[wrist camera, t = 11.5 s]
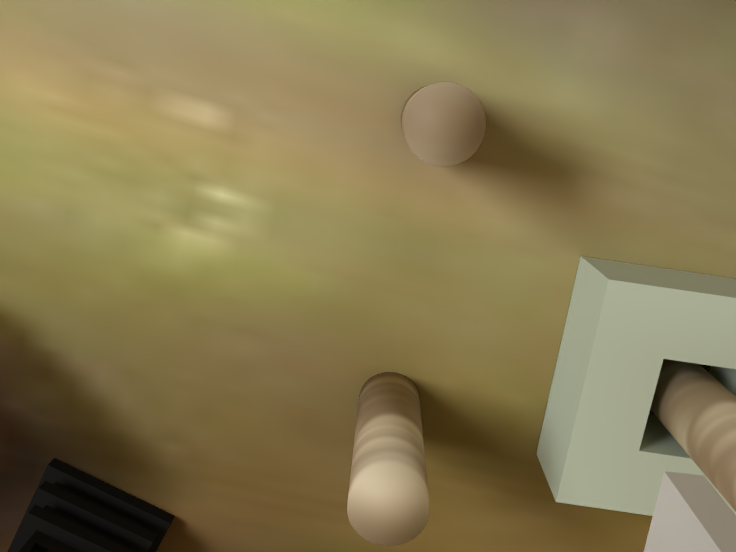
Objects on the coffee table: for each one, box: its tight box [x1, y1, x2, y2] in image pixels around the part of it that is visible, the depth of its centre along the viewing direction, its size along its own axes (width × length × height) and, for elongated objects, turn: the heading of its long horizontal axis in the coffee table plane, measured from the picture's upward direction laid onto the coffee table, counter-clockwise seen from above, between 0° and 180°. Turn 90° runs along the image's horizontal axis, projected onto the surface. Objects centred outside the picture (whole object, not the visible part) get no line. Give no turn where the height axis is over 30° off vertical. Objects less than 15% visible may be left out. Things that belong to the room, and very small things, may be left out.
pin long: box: [650, 359, 736, 512], centre depth 31 cm, size 4×4×16 cm
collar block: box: [536, 256, 736, 516], centre depth 37 cm, size 12×12×5 cm
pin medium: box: [347, 372, 430, 546], centre depth 35 cm, size 4×4×11 cm
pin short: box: [401, 82, 486, 167], centre depth 33 cm, size 4×4×7 cm
